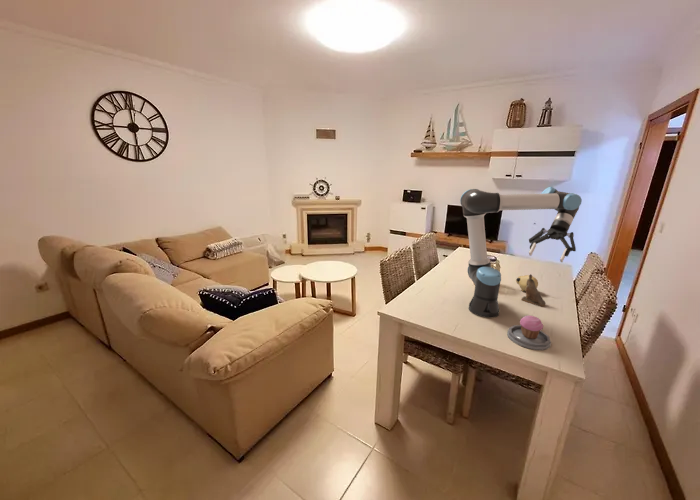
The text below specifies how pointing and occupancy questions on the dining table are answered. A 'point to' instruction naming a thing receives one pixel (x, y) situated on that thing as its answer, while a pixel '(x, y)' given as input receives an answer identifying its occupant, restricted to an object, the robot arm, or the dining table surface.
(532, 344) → the slate plate
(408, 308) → the dining table surface
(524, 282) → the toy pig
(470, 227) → the robot arm
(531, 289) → the worn brown figurine
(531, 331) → the cupcake
